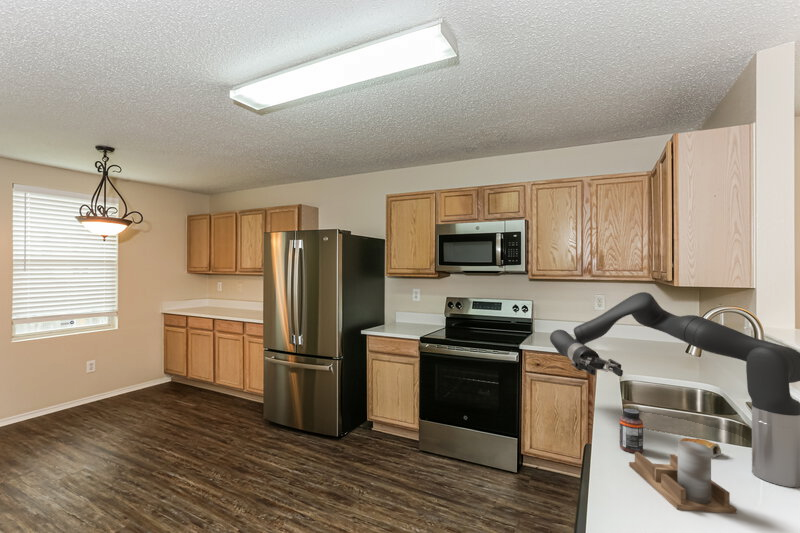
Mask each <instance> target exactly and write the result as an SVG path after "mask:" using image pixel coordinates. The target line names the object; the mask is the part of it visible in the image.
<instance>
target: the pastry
mask: <svg viewBox="0 0 800 533" xmlns="http://www.w3.org/2000/svg"><path fill="white" fill-rule="evenodd" d="M679 441H689V442H695V443H699V444H702V445H704V446H707V447H708V448H710V449H711V459H713V458H714V459H715V457H718V456H721V454H722V449H721V447H720V445H719V444H718V443H714V442H712V441H709V440H707V439H702V438H701V439H700V438H689V437H688V438H687V437H685V438H681V439H680V440H679Z"/></svg>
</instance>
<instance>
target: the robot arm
mask: <svg viewBox="0 0 800 533" xmlns="http://www.w3.org/2000/svg"><path fill="white" fill-rule="evenodd" d="M630 315H631V316H632V318H633V319H634V320H635V321H636V322H637V323H638V324H640V326H641V325H642V326H643V327H647V328H650V329H653V330H657V331H659V332H663V333H664V334H667V335H669V336H671V337H674V338H676V339H678V340H680V341H682V342H684V343H686V344H688V345H690V346H692V347H695V348H697V349H699V350H702V351H705V352H708V353H711V354H715V355H719V356H722V357H728V358H732V359H735V360H740V361H744V362H745V366H746V367H745V368H746V369H745V372H746V384H747V386H746V387H747V392H748V395H749V398H750V399H751V472H752V474H753V475H754V476H756V477H757V478H759V479H761V480H763V481H766V482H768V483H772V484H775V485H779V486H784V487H789V488H800V401H798V399H797V400H796V399H795V398H793V397H792V395H791V390H790V384H792V383H794V384H795V383H799V382H800V351H798V350H796V349H795V348H792V347H789V346H786V345H782V344H778V343H775V342H774V343H773V342H770V341H766V340H763V339H759V338H757V337H754V336H751V335H748V334H745V333H743V332H741V331H739V330H737V329H734V328H731V327H728V326H726V325H723V324H722V323H721V324H720V323H718V322H716V321H713V320H711V319H709V318H704V317H702V316H699V315H695V314H687V315H676V314H673V313H671V312H670V311H667V310H665V309H664V308H662V307H661V306H660V305H659V303H658V301H657V300H656V299H655V298H654V296H653V295H652V294H651V293H649V292H645V291H643V292H637V293H635V294H632V295H630V296H629V297H627V298H625V299H624V300H622V301H620V302H619V303H617V304H616V305H614V306H613V307H611V308H610V309H608V310H607V311H605V312H604V313H602V314H601V315H598V316H597V317H595V318H592V319H590V320H588V321H586V322H584V323H582V324H579V325H577V326H575V327H574V328H573V334H574V337H575V338H574V337H573V336H572V335H571V334H570V333H569V332H567V331H566V330H564V329H556V330H553V331H552V332H551V334H550V336H549V339H550V340H549V341H550V343H551V344H552V346H553V347H554V348H555V349H556V351H557V352H558V353H559V355H561V356H564V357H567V358H568V359H569V360H571V366H573V368H575V369H576V370H577V371H582V370H583V371H584V372H585V373H588V374H590V375H591V376H596V373H597V371H603V372H604V373H605V372H606V373H607V372H611V373H613V374H615V375H616V376H618V377H620V378H621V377H623V375H624V371H623V369H622V364H621V363H619V362H617V361H615V360H614V359H612V358H609V359H608V360H606V359H602V358H601V357H600V356H599V354H598V352H597V351H596V350H594V349H592V348H591V347H589V346H587V345H586V344H588V343H589V342H592V341H596V340H598V339H599V338H601V337H603V336H605V335H606V334H607V333H608V332H609V331H610V330H611V329H612V327H613V326H614V325H615V324H616V323H618V321H619V320H621V319H623V318H626V317H627V316H630Z"/></svg>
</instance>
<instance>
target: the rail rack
mask: <svg viewBox="0 0 800 533" xmlns="http://www.w3.org/2000/svg"><path fill="white" fill-rule="evenodd" d="M669 456H670V458H669V459H670V462H669V463H670V464H667V463H652V461H650V460H649V459H648V458H646V456H644V455H643V454H641V453H639V452H635V453H634V461H629V462H628V466H629V467H630V468H631V469H632V470H633V471H634V472H635V473H636V474H637V475H638V476H640V478H642V479H643V480H644V481H646V483H648V485H650V487H652V488H653V489H654V490H655V491H656V492H657V493H659V495H661V496H662V497H663V498H664V499H665V500H666V502H669V504H671V505H672V506H673V507H674V508H675V509H676V510H679V511H680V510H682V511H694V512H695V511H697V512H706V513H707V512H709V513H723V514H724V513H725V514H737V508H736V507H735V506H734V505H732V504H731V503H730V499H731V498H730V496H731V495H730V494H731V493H730V492H729V491H728V490H727V489H725V488H724V487H723V486H721V485H719V484H717V483H716V482H715V481H713V480H712V458H711V449H710V448H708V447H707V446H704V445H702V444H699V443H695V442H689V441H680V440H679V441H678V442H677V455H676V454H674V453H672V454H671V453H670V455H669Z"/></svg>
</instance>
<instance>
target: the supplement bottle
mask: <svg viewBox="0 0 800 533" xmlns="http://www.w3.org/2000/svg"><path fill="white" fill-rule="evenodd" d="M622 414H623V415H621V416H620V417H619V448H620V449H622V451H625V452H628V453H631V454H635V452H639V453H640V454H641V453H643V451H644V422H643V420H642V419H641V418H640V411H639V410H636V409H633V408H623V413H622Z"/></svg>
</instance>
